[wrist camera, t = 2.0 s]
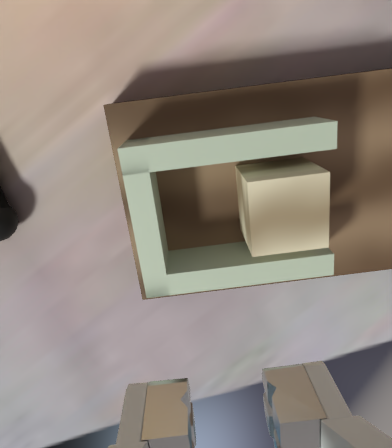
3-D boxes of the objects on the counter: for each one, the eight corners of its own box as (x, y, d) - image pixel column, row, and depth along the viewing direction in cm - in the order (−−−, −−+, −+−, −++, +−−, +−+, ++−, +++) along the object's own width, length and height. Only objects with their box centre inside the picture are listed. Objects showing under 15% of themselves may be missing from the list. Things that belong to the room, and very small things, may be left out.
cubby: (126, 140, 22) (117, 148, 19) (314, 116, 22) (337, 120, 19) (150, 271, 26) (146, 298, 22) (314, 251, 26) (333, 274, 22)
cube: (235, 165, 23) (247, 182, 19) (303, 157, 23) (330, 172, 19) (240, 228, 25) (252, 256, 21) (303, 221, 25) (328, 247, 21)
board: (112, 103, 24) (103, 105, 22) (631, 37, 24) (691, 30, 21) (146, 279, 29) (142, 299, 27) (577, 226, 29) (619, 240, 26)
